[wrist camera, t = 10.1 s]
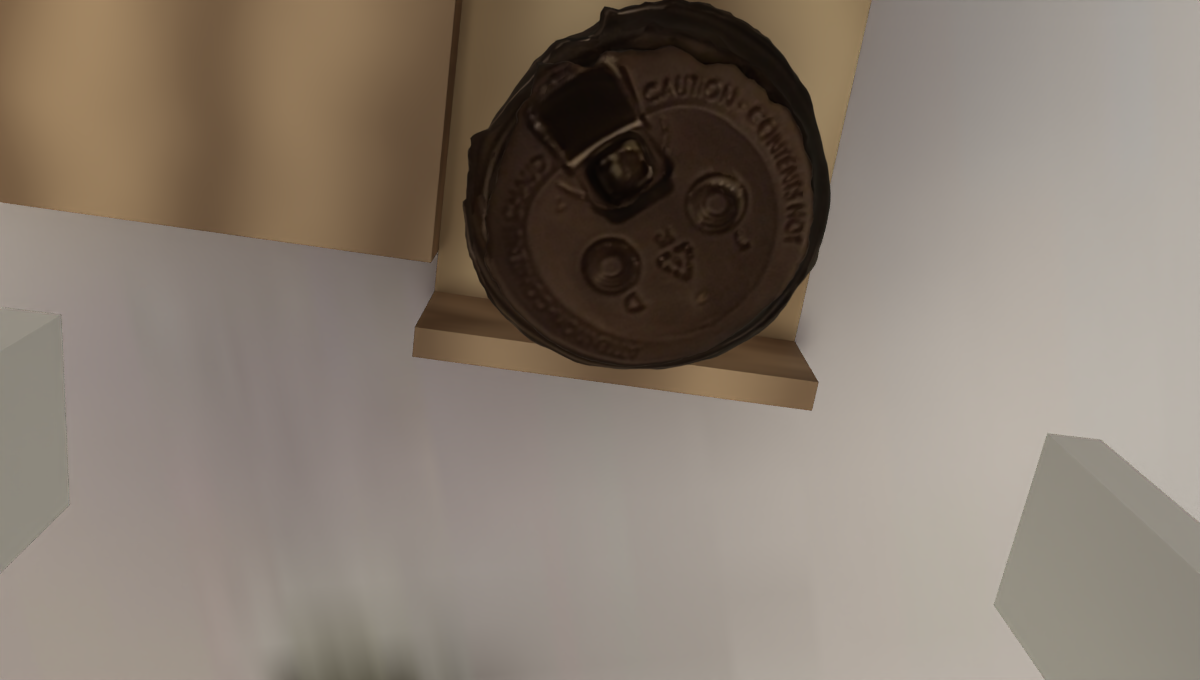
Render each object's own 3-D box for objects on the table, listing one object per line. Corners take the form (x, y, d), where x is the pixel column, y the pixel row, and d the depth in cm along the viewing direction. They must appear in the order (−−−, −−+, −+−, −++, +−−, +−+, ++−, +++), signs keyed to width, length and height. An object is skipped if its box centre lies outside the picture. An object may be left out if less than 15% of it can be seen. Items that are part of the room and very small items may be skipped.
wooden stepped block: (-14, 248, 35) (-105, 286, 30) (-42, -225, 30) (-156, -264, 25) (784, 359, 36) (811, 410, 32) (881, -74, 31) (929, -86, 27)
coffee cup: (520, -22, 31) (472, -35, 19) (777, 12, 32) (893, 20, 19) (496, 244, 34) (440, 382, 22) (732, 272, 34) (808, 423, 22)
